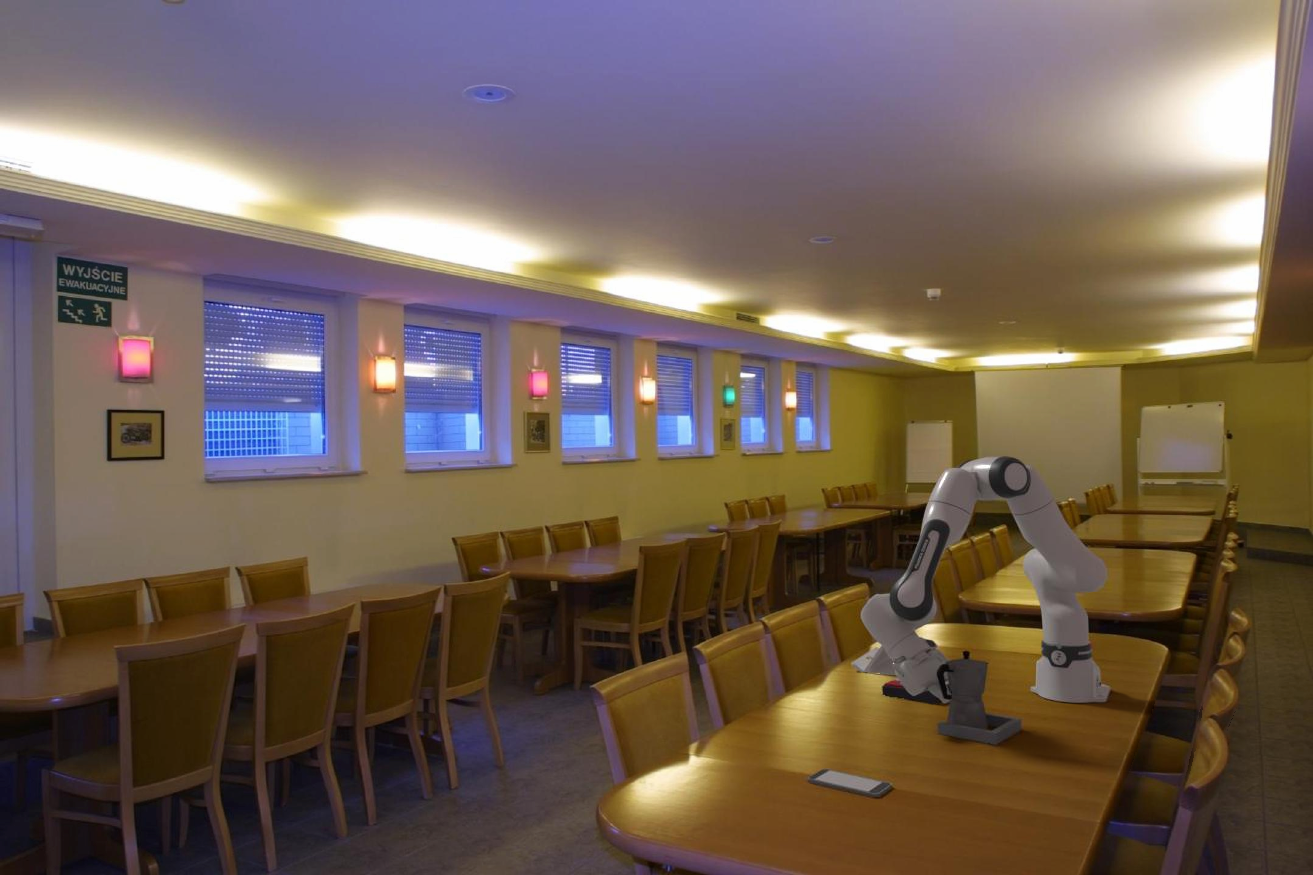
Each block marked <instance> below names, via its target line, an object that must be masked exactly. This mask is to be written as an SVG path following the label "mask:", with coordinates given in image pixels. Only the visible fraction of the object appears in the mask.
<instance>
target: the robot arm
mask: <svg viewBox="0 0 1313 875" xmlns="http://www.w3.org/2000/svg"><path fill="white" fill-rule="evenodd" d="M998 499H999V500H1000V499H1004V500H1005V501H1006V503H1007V506H1008V507H1009V510H1010V513H1011V515H1012V516H1013V518H1014V520H1015V522H1016V524H1017V527H1018V528H1019V531H1020V533H1021V535H1022V537H1023V538H1024V540H1025V541H1026V542H1028V544H1030V545H1031V546H1032V547H1033V548H1032V549H1030V550H1029V551H1028V552H1027V553H1026V555H1024V558H1023V562H1022V568H1023V572H1024V574H1025V575H1026V577H1027V578H1028V579H1029V581H1030V582H1031V584H1032V586H1033V589H1034V590H1035V593H1036V596H1037V600H1038V603H1039V607H1040V611H1041V622H1042V641H1041V644H1040V649H1041V655H1042V656H1041V657H1040V659H1038V660H1037V661H1036V670H1035V673H1036V675H1035V685H1033V686H1030V692H1032V693H1035V694H1038V696H1040V697H1042V698H1043V699H1047V700H1051V701H1056V702H1063V703H1064V702H1065V703H1077V704H1079V703H1084V704H1085V703H1106V702H1107V701H1108V699H1109V696H1110V692H1111V686H1109V685H1106V684H1103V683H1102V681H1101V680H1102V676H1101V668H1100V667H1099V666H1098V665H1097V663H1096V662H1095V661H1094V660H1093V648H1094V646H1093V645H1094V644H1093V642H1092V641H1089V636H1090V635H1089V616H1088V613H1087V610H1085V608H1084V607H1083V606H1082V604H1081V603H1080V601H1079V599H1078V596H1077V594H1084V593H1093V592H1098V591H1099V590H1100V589H1102V588H1103V586H1104V585H1105V583H1106V582H1107V579H1108V569H1107V566H1106V564H1105V562H1104V560H1102V558H1100V557H1099V556H1098V555H1096V554H1095V553H1093V552H1092V551H1091V550H1089V548H1088V547H1087V546H1086V545H1085V544H1084V543H1083V542H1082V541H1081V540H1080V538H1079V537H1078V535H1077V534H1076V533H1075V532H1074V531H1073V529H1071V527H1070V526H1069V524H1068V523H1067V522H1066V520H1065V518H1064V516H1063V514H1062V511H1061V510H1060V508H1059V506H1058V504H1057V502H1056V500H1055V498H1054V496H1053V494H1052V493H1051V490H1050V489H1049V487H1048V485H1047V483H1046V482H1045V480H1044V479H1043V477H1042V476H1041V475H1040V473H1039V472H1038V471H1037V470H1036V469H1035V468H1034V467H1033V466H1031V465H1028V464H1025V463H1023V462H1022V461H1021V460H1020V459H1018V458H1016V457H1012V456H1008V455H1007V456H1006V455H1005V456H1003V455H1001V456H985V457H983V458H977V459H969V460H965V461H963V462H961V463H960V464H958V465H957V466H956V467H950V468H947V469H946V470H944V471H943V472H942V473H941V475H940V476H939V478H938V480H937V481H936V484H935V485H934V487H933V489H932V491H931V493H930V496H929V500H928V501H927V504H926V507H925V510H924V514H923V518H922V523H921V530H920V535H919V540H918V541H917V545H916V547H915V549H914V553H913V554H912V557H911V559H910V562H909V565H908V567H907V569H906V571H905V572H904V574H903V575H902V576H901V577H900V578H899V579H898V580H897V581H896V582H895V583H894V585H893V586H892V588H891V589H890V591H889V593H882V594H881V593H876V594H874V595H873V596H871V597H870V598H868V599H867V600H866V602H865V603H864V605H863V606H862V608H861V610H860V619H861V621H862V623H863V625H864V626H865V628H866V629H867V631H868V632H869V634H870V635H871V636H872V637H873V639H874V640H875V641H876V642H877V643H878V644H879V645H881V646H883V647H884V649H885V650H886V653H887V654H888V656H889V657H890V658H891V659H892V661H893V668H894V669H895V673H896V676H895V677H897V678H898V679H899V680H900V682H901V683H902V685H903V686H904V688H905V689H906V690H907V692H908V693H909V694H911V695H913V696H915V695H917V694H920V693H922V692H924V691H927V690H929V691H930V692H931V693H932V694H933V695H935V696H936V697H938V698H939V699H940V700H941V701H942V702H941V703H943V704H947V703H950V700H951V699H952V698H951V699H944V698H943V695H942V691H941V688H940V684H939V681H938V678H937V670H938V669H939V667H940V665H942V664H946V663H945V662H948V661H950V660H949V659H948V658H947V657H946V656H945V654H944V653H943V652H942V651H941V650H940V649H937V648H938V644H937V643H936V642H935V641H934V640H933V639H927V638H924V637H922V636H920V635H918V634H917V632H916V631H915V630H918V629H920V628H922V627H923V626H924V627H925V626H926V625H927V624H930V623H931V622H932V621H933V620H934V618H935V616H936V614H937V612H938V605H937V604H938V603H937V601H936V599H935V597H934V595H933V589H932V588H933V581H934V578H935V576H936V572H937V570H938V566H939V564H940V562H941V559H942V557H943V554H944V552H945V551H946V550H947V548H948V547H950V546H951V545H953V544H957V543H958V542H960V541H961V539H962V537H963V535H965V532H966V531H967V529H968V526H969V525H970V521H971V519H972V516H973V512H974V508H975V506H976V503H977V502H978V500H981V501H983V500H984V501H994V500H998ZM944 678H945V682H949V681H948V674H947V672H945V673H944ZM945 684H946V683H945ZM946 687H947V694H948V695H952V694H951V693H950V692H949V689H948V686H947V684H946Z"/></svg>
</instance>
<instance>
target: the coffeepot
mask: <svg viewBox="0 0 1313 875" xmlns="http://www.w3.org/2000/svg"><path fill="white" fill-rule="evenodd" d="M970 654H971V652H970V651H968V650H964V651H962V656H963V658H955V659H951V660H949V661H948V662H945V663H946V664H942V665H940V667H939V669H938V670H937V678H938V681H939V684H940V688H941V691H942V695H943V698H944V699H951V698H952V699H951V700H950V701H949V706H948V714H947V720H946V722H947V723H952V724H958V725H963V726H968V727H974V728H979V729H984V730H989V725H988V724H987V719H986V713H987V712H986V710H985V704H984V701H983V694H984V693H985V688H986V682H987V675H988V668H989V666H988V665H989V664H990V662H986V661H985V660H983V661H982V660H980V659H979V660H978V659H973V658H972V659H971V658H970ZM945 672H947V674H948V682H949V687H950V690H951V691H952V695H948V694H947V687H946V684H945V678H944V673H945ZM985 712H986V713H985Z"/></svg>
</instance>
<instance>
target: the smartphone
mask: <svg viewBox="0 0 1313 875" xmlns="http://www.w3.org/2000/svg"><path fill="white" fill-rule="evenodd" d="M807 782H808V783H809V784H812V783H813V785H818V786H822V787H825V786H828V787H827V788H829V787H830V789H834V788H836V789H835V790H838V789H839V791H842V790H844V791H843V792H847V791H850V792H849V793H851V792H852V794H855V793H857V794H856V795H860V794H862V795H861V796H865V797H868V796H869V798H873V797H878V798H880V797H881V795H882V794H883V795H884V794H886V793H887V792H889V791H891V789H893V784H892V783H891V782H888V781H884V780H879V779H875V778H869V777H865V776H862V775H856V774H851V773H848V772H847V773H846V772H844V771H838V770H835V769H830V768H822V769H820V770H819V771H816V772H815V773H812V774H811V775H810V776H808V777H807ZM883 795H882V796H883Z"/></svg>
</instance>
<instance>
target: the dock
mask: <svg viewBox="0 0 1313 875" xmlns="http://www.w3.org/2000/svg"><path fill="white" fill-rule="evenodd" d="M985 713H986V719H987V724H988V727H995V728H994V729H993V730H989V729H987V730H984V729H979V728H974V727H968V726H963V725H958V724H952V723H947V721H946V722H945V721H942V720H941V721H938V722H937V734H938V735H944V736H948V737H953V738H958V739H962V740H967V741H968V740H969V741H974V742H977V741H979V742H978V743H984V744H988V743H990V744H989V745H993V746H994V745H995V746H997V745H999V744H1001V743H1002V742H1004V741H1005V739H1006V738H1007V739H1008V738H1011V737H1012V736H1014V735H1015V734H1016V733H1019V732H1021V729H1022V718H1020V717H1013V716H1007V715H1003V714H996V713H991V712H986V711H985ZM1022 730H1023V729H1022ZM1007 739H1006V740H1007ZM1003 740H1004V741H1003ZM1001 741H1002V742H1001ZM1000 742H1001V743H1000ZM998 743H999V744H998Z"/></svg>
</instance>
